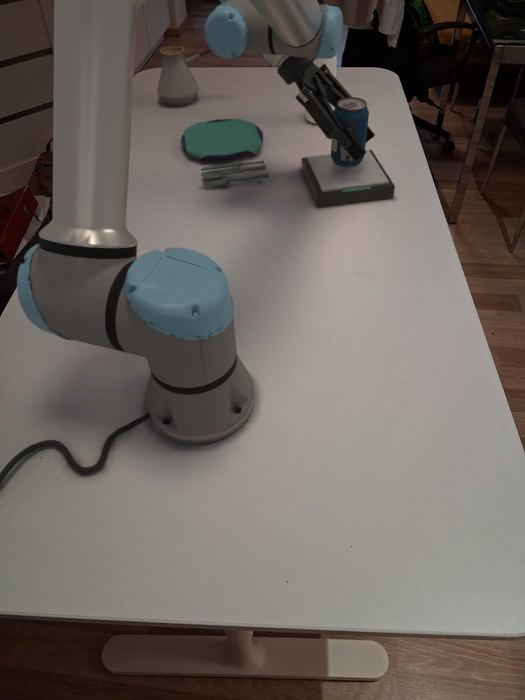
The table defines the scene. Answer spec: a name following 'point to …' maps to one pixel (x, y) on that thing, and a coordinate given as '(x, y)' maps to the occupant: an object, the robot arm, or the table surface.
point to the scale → (346, 180)
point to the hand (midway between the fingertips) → (365, 147)
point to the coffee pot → (177, 77)
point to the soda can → (350, 129)
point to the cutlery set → (224, 146)
